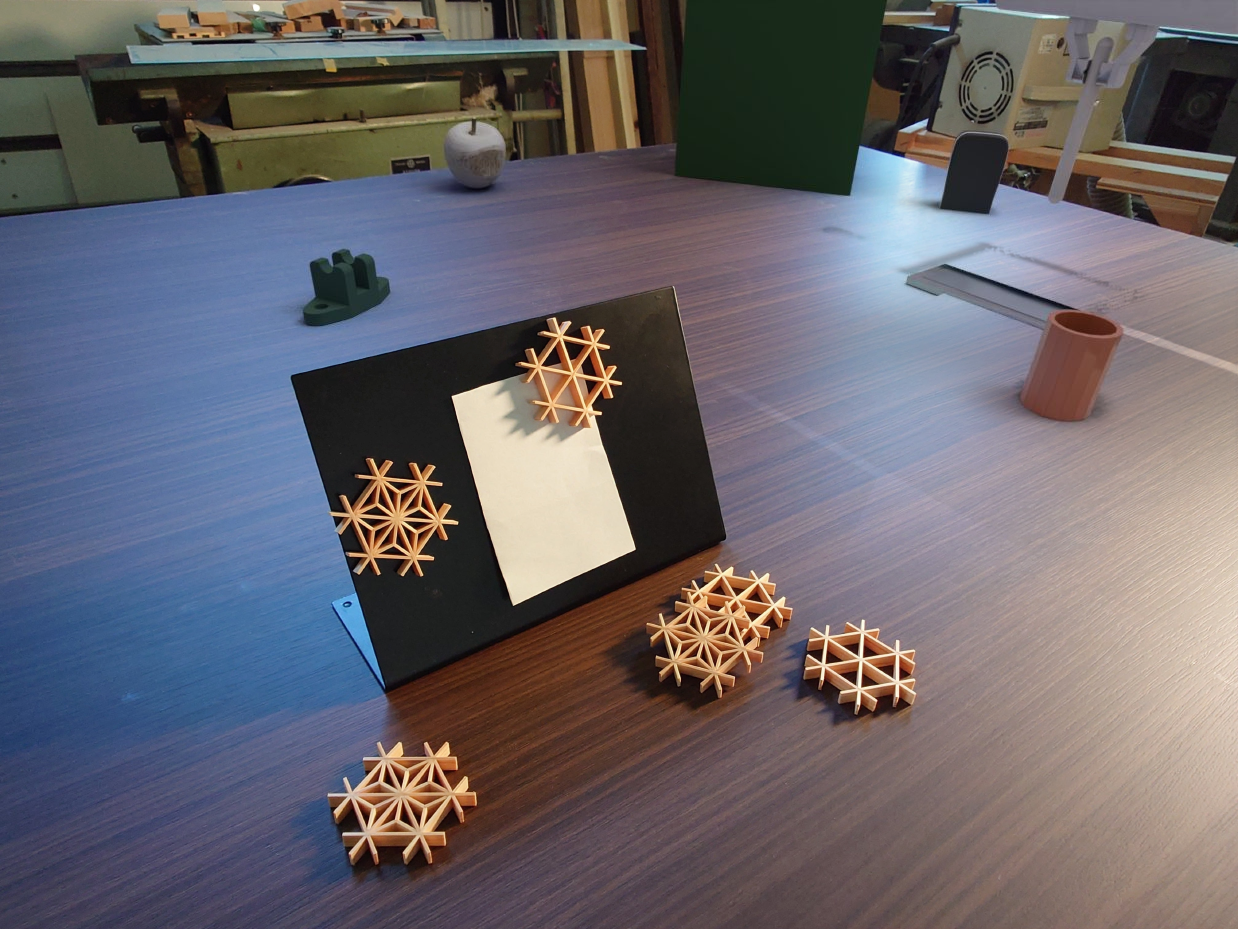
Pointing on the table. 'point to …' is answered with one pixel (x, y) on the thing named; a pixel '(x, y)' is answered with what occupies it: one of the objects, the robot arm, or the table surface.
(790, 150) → the binder
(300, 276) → the table surface
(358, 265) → the mount
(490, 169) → the decorative object
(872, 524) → the table surface
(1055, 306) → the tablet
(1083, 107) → the stylus
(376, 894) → the table surface
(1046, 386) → the pen cup
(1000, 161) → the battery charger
